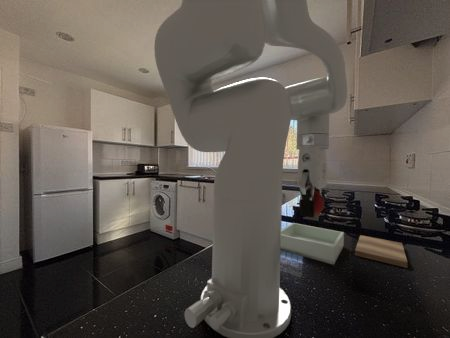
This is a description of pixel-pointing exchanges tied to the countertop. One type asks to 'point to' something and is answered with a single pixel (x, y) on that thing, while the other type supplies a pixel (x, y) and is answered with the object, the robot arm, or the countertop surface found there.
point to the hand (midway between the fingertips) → (310, 213)
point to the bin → (312, 242)
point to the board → (381, 250)
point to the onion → (317, 203)
